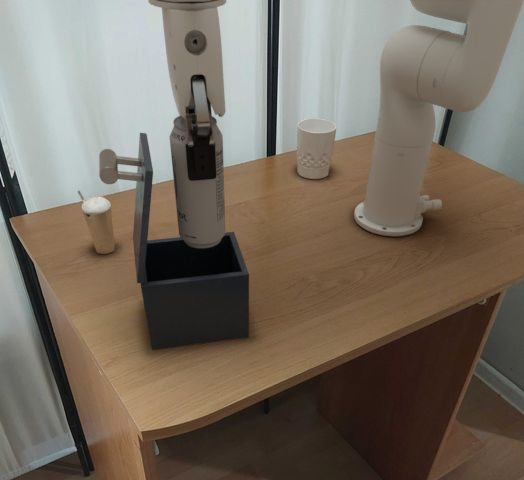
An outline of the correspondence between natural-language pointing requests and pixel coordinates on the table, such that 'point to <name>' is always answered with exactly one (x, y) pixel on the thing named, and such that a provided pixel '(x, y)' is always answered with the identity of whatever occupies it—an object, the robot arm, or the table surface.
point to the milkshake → (99, 223)
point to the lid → (143, 193)
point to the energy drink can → (198, 192)
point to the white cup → (315, 147)
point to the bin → (195, 292)
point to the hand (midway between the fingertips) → (198, 164)
